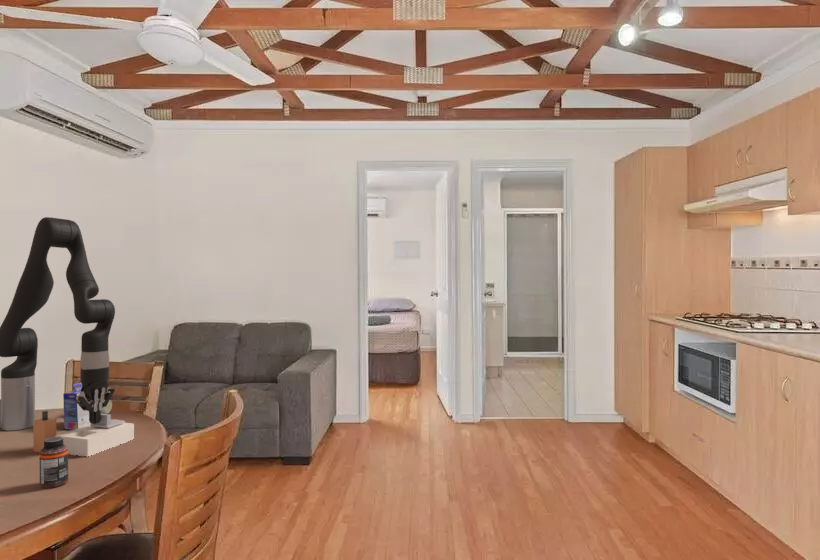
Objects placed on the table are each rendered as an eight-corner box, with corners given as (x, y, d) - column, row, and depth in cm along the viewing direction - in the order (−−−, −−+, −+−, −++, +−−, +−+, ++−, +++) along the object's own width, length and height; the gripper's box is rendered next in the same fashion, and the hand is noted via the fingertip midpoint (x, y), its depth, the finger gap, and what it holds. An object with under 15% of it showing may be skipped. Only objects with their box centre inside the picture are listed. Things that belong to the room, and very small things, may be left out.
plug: (33, 451, 159) (33, 412, 159) (45, 447, 163) (45, 409, 162) (44, 452, 158) (44, 413, 158) (56, 448, 161) (56, 410, 161)
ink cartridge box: (83, 421, 191) (83, 380, 191) (98, 421, 190) (98, 380, 190) (62, 429, 181) (62, 386, 181) (78, 430, 180) (78, 386, 180)
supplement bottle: (48, 480, 137) (48, 435, 137) (73, 479, 138) (73, 435, 138) (34, 489, 131) (34, 442, 131) (60, 488, 132) (59, 442, 132)
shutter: (90, 426, 166) (90, 414, 166) (107, 420, 172) (107, 409, 172) (108, 428, 164) (108, 416, 164) (124, 422, 170) (124, 411, 170)
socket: (55, 452, 158) (55, 435, 158) (103, 435, 174) (103, 420, 174) (87, 457, 154) (87, 439, 154) (133, 439, 171) (133, 423, 171)
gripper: (103, 361, 171) (103, 416, 171) (65, 368, 158) (65, 428, 159) (122, 363, 169) (122, 418, 169) (85, 370, 156) (85, 430, 156)
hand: (94, 423), depth 164 cm, fingers closed
